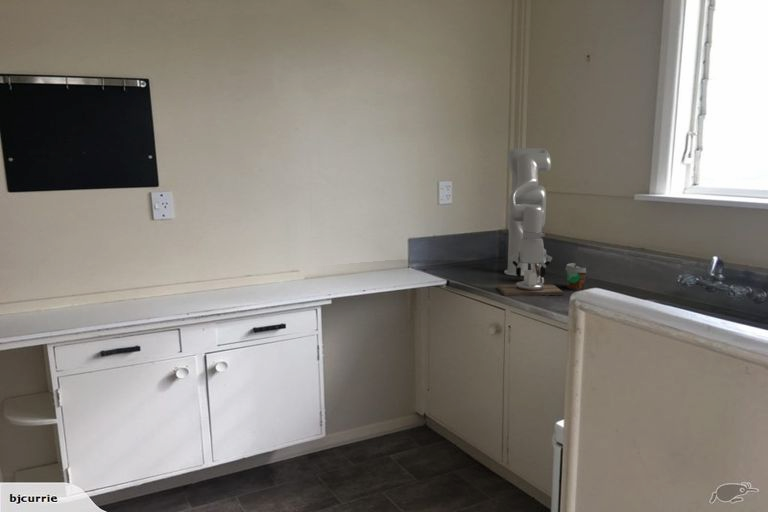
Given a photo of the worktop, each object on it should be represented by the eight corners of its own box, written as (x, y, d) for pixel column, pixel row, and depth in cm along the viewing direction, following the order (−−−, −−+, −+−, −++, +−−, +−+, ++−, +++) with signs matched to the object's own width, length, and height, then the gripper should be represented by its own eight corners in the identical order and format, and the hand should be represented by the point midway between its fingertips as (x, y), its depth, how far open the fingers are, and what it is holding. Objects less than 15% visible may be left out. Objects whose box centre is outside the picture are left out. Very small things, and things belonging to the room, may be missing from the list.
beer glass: (545, 284, 270) (547, 251, 267) (529, 283, 271) (530, 250, 269) (544, 281, 277) (546, 248, 274) (528, 280, 278) (530, 248, 275)
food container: (560, 285, 268) (561, 263, 266) (573, 285, 268) (574, 262, 267) (570, 291, 256) (572, 268, 254) (585, 291, 256) (586, 268, 255)
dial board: (497, 287, 263) (497, 284, 262) (553, 287, 263) (553, 284, 263) (504, 295, 248) (504, 291, 248) (563, 295, 248) (563, 291, 248)
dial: (513, 284, 261) (514, 269, 259) (539, 284, 261) (540, 269, 260) (519, 290, 250) (520, 274, 249) (546, 290, 250) (547, 274, 249)
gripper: (550, 235, 255) (548, 275, 258) (509, 234, 255) (507, 275, 258) (555, 237, 248) (553, 278, 250) (513, 236, 248) (511, 278, 250)
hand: (530, 276), depth 254 cm, fingers open, 9 cm apart
